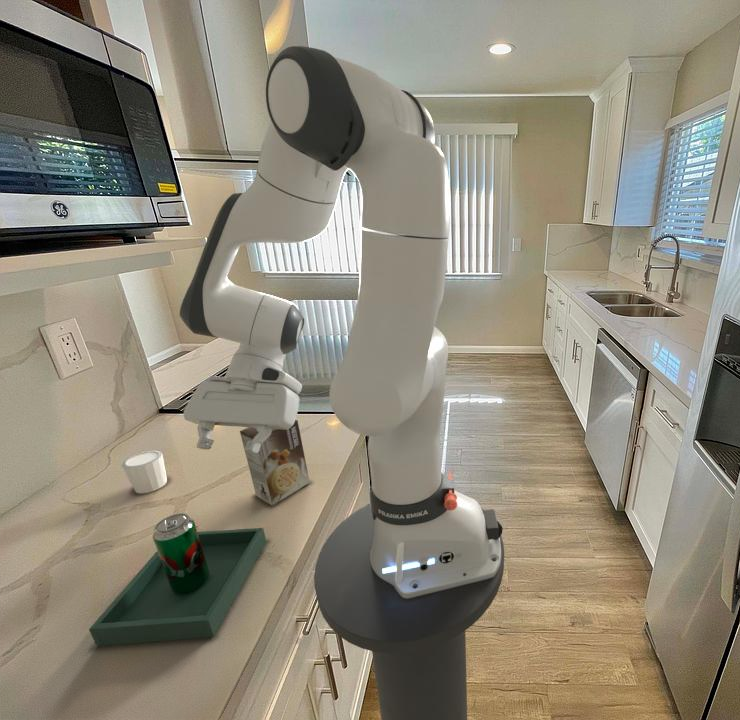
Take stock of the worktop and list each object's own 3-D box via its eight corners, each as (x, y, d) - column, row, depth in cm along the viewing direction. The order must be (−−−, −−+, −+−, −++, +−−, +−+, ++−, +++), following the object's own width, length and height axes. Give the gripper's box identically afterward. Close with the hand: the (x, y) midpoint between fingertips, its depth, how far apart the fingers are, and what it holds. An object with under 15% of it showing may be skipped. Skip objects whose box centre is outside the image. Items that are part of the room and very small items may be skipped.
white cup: (173, 485, 88) (164, 458, 86) (133, 499, 83) (123, 472, 81) (167, 472, 93) (159, 446, 90) (129, 485, 88) (119, 458, 86)
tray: (266, 541, 73) (263, 527, 71) (213, 636, 56) (208, 620, 55) (177, 547, 71) (172, 533, 70) (96, 646, 55) (88, 629, 54)
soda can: (210, 564, 67) (192, 507, 63) (210, 586, 63) (191, 526, 59) (173, 578, 64) (152, 519, 60) (171, 602, 60) (148, 540, 56)
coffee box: (293, 474, 92) (281, 412, 86) (310, 483, 89) (299, 419, 83) (254, 496, 84) (238, 430, 79) (271, 507, 81) (256, 439, 76)
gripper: (192, 369, 74) (160, 442, 68) (292, 373, 71) (268, 450, 65) (216, 382, 79) (188, 450, 73) (310, 386, 76) (289, 458, 71)
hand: (226, 450), depth 69 cm, fingers open, 8 cm apart
